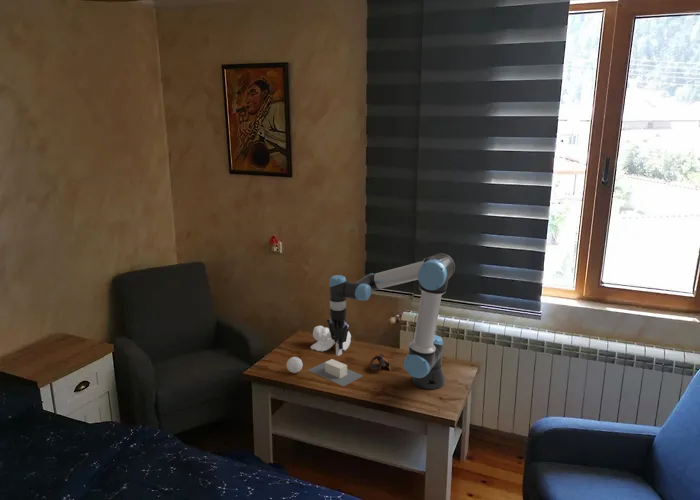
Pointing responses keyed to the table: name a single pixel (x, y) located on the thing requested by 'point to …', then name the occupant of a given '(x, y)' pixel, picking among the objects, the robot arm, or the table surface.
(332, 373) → the cream block
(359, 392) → the table surface
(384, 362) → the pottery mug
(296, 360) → the geometric ball
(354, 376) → the grey mat
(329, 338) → the cherub figurine
